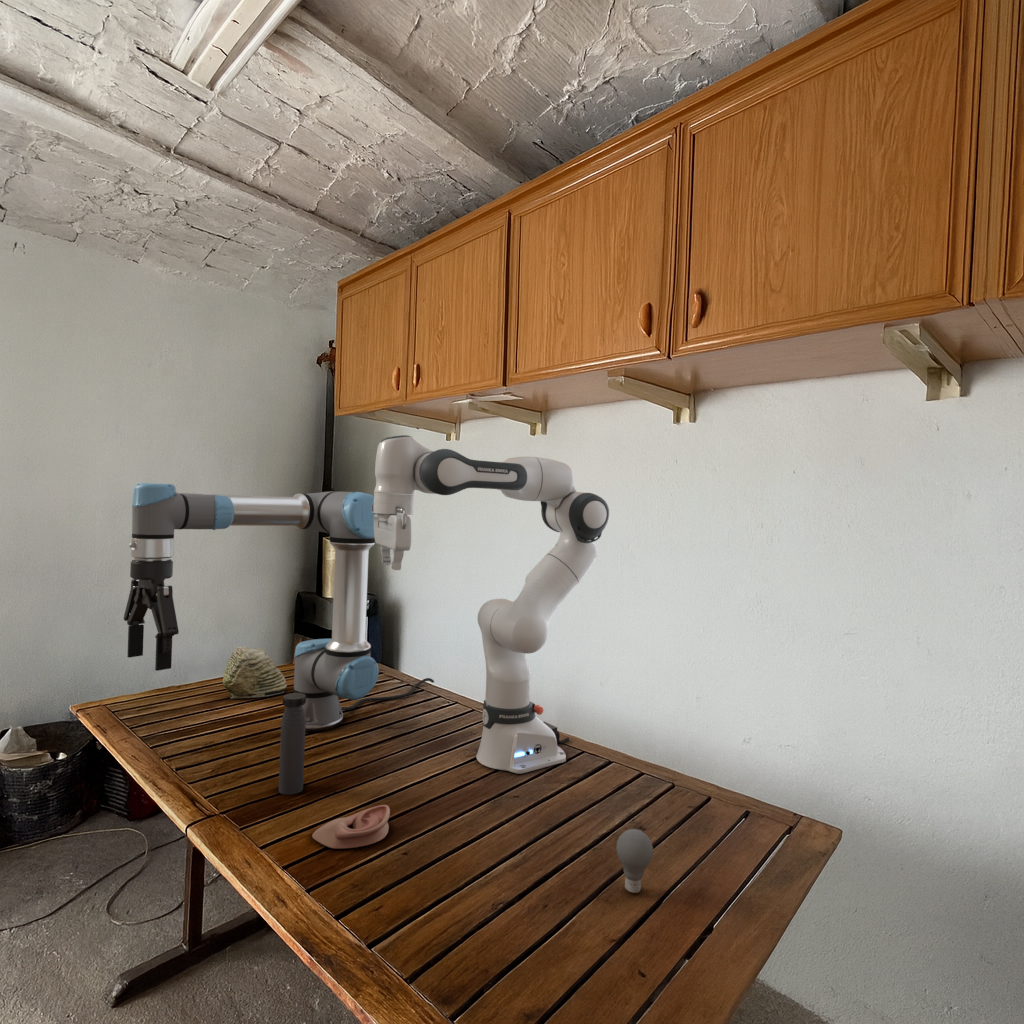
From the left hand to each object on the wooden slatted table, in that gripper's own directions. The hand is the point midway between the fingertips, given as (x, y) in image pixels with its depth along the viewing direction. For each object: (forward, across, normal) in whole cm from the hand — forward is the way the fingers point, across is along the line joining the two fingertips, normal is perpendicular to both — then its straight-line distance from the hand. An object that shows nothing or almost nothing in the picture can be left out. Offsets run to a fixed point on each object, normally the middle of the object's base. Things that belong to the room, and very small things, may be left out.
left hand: (148, 662), depth 129 cm
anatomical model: (+28, +42, +20) cm, 54 cm away
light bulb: (+28, +90, +41) cm, 103 cm away
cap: (+8, +18, +23) cm, 30 cm away
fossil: (+28, -47, +50) cm, 74 cm away
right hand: (-20, +26, +40) cm, 52 cm away
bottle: (+28, +18, +23) cm, 40 cm away
